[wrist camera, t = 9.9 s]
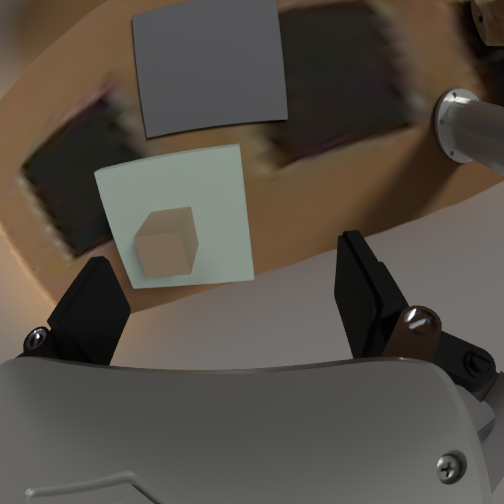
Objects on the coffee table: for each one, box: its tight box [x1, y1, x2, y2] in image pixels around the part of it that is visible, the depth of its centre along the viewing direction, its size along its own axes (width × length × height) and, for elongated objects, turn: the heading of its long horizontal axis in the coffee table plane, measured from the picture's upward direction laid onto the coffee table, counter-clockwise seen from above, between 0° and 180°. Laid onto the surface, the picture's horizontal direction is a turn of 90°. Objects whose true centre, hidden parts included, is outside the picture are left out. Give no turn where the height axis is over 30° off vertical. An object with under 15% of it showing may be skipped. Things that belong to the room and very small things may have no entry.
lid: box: [94, 144, 254, 289], centre depth 24 cm, size 14×14×6 cm
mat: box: [132, 0, 288, 138], centre depth 27 cm, size 18×18×1 cm
